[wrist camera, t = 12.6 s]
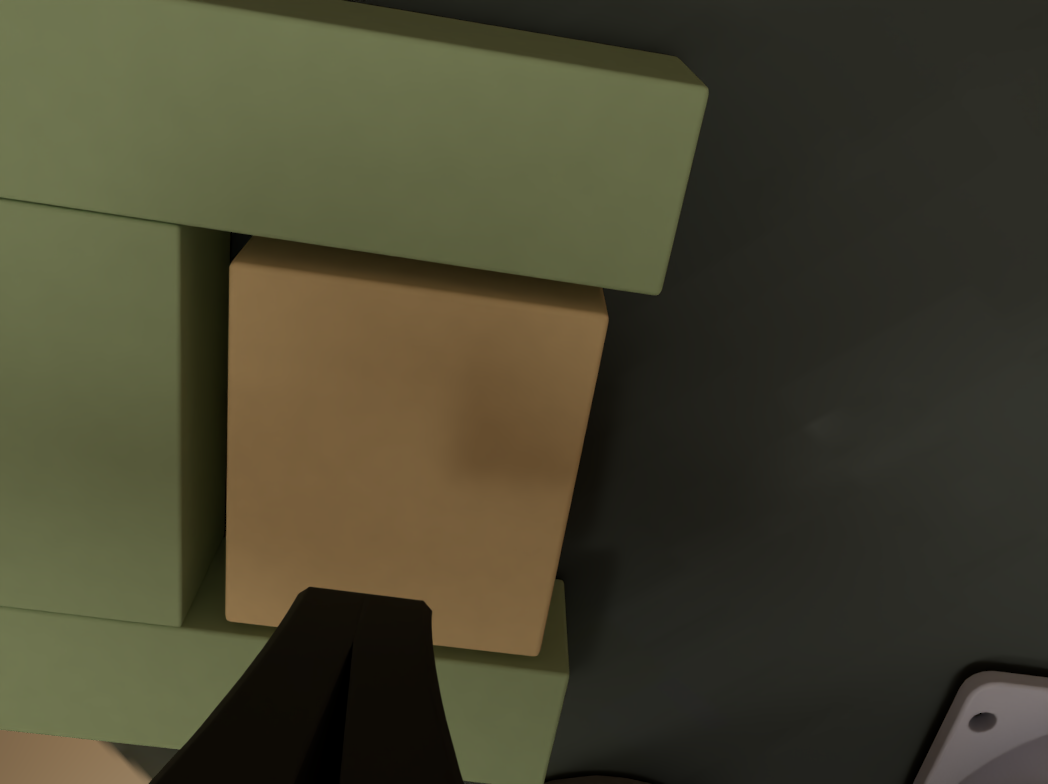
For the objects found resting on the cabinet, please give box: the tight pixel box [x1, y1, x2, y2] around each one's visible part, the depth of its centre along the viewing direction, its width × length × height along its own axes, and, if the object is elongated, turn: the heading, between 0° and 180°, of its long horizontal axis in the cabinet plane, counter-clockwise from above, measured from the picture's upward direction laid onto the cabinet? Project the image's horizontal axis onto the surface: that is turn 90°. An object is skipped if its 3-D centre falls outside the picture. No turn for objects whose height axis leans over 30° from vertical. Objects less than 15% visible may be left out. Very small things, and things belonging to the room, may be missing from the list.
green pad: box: [0, 0, 709, 784], centre depth 15 cm, size 12×10×2 cm
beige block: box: [225, 235, 609, 656], centre depth 15 cm, size 6×5×2 cm
